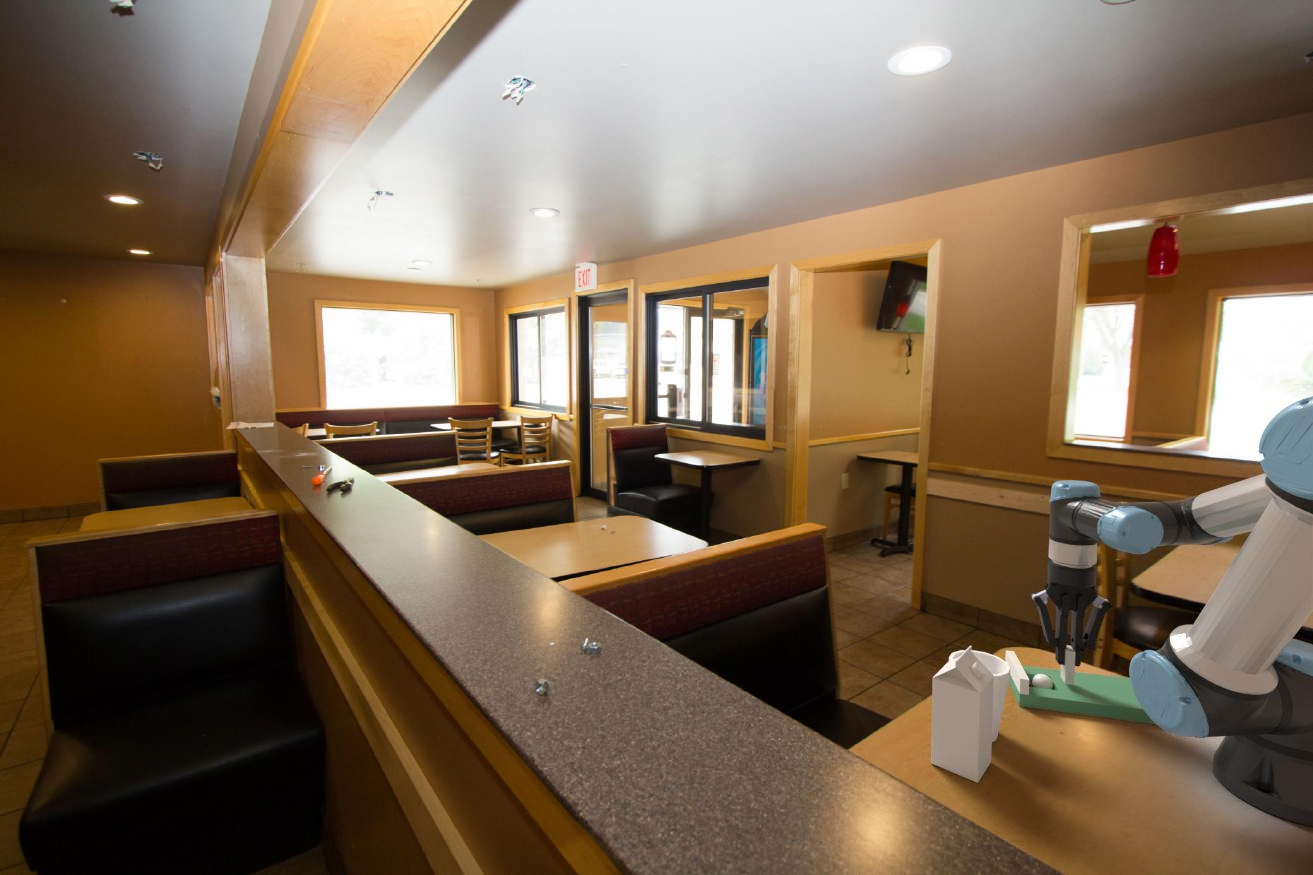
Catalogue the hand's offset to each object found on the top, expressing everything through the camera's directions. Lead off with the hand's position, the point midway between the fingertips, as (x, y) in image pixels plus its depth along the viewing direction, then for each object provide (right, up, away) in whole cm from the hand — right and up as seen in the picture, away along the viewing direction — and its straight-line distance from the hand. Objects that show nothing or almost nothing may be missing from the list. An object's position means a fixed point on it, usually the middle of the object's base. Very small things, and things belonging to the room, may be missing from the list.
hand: (1067, 680), depth 115 cm
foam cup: (-23, -6, -9) cm, 25 cm away
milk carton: (-30, -7, -17) cm, 35 cm away
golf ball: (-2, -3, +2) cm, 5 cm away
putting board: (+2, -4, 0) cm, 4 cm away
